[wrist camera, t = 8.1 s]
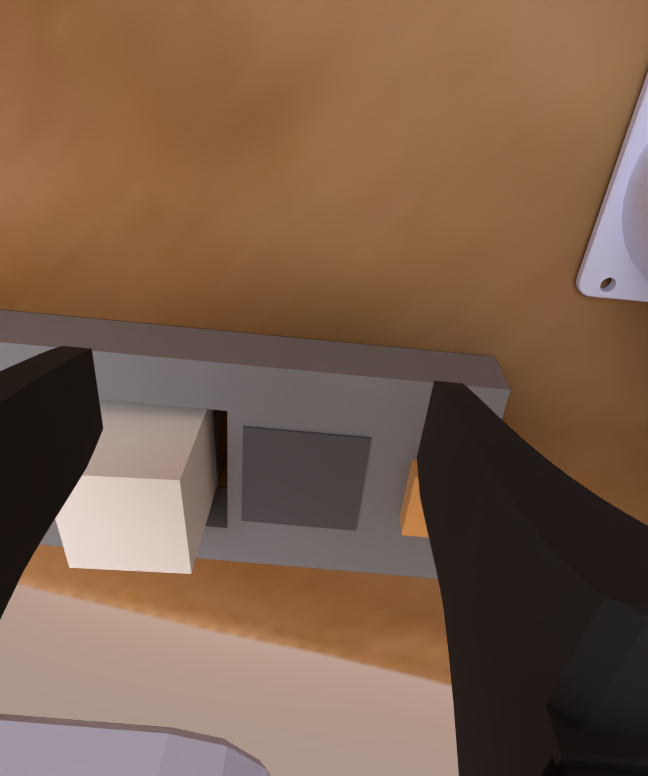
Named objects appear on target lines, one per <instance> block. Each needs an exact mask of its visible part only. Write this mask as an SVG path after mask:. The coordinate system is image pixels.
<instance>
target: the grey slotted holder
mask: <svg viewBox="0 0 648 776" xmlns="http://www.w3.org/2000/svg"><path fill="white" fill-rule="evenodd" d="M60 346H71V347H82V348H92V353H93V360H94V367H95V374H96V381H97V388H98V395H99V399H103V400H113V401H124V402H135V403H146V404H157V405H168V406H179V407H190V408H201V409H211V410H222V411H227V487H216V491H215V494H214V497H213V501H212V504H211V508H210V511H209V515H208V518H207V522H206V525H205V528H204V532H203V535H202V539H201V542H200V546H199V549H198V553H197V556H196V558H203V559H215V560H226V561H238V562H249V563H261V564H273V565H284V566H296V567H307V568H319V569H331V570H342V571H354V572H366V573H377V574H389V575H400V576H412V577H424V578H435V579H438V576H437V572H436V567H435V563H434V558H433V554H432V550H431V545H430V541H429V536H428V532H427V527H426V523H425V518H424V514H423V509H422V504H421V500H420V492H419V481H418V467H417V454H418V450H419V445H420V441H421V436H422V432H423V427H424V423H425V419H426V414H427V410H428V405H429V401H430V397H431V392H432V388H433V383H434V381H444V382H455V383H463V384H464V385H466V386H467V387H468V388H469V389H470V390H471V391H472V392H473V393H475V394H476V395H477V396H478V397H479V398H480V399H481V400H482V401H483V402H484V403H485V404H486V405H487V406H488V407H489V408H490V409H491V410H492V411H493V412H494V413H495V414H496V415H497V416H498V417H500V418H501V419H502V417H503V414H504V411H505V407H506V404H507V401H508V398H509V395H510V392H511V389H510V387H509V385H508V383H507V381H506V379H505V377H504V375H503V373H502V371H501V369H500V367H499V365H498V363H497V361H496V359H495V357H492V356H482V355H471V354H461V353H450V352H440V351H429V350H419V349H408V348H398V347H387V346H377V345H366V344H356V343H345V342H335V341H324V340H314V339H303V338H293V337H282V336H271V335H261V334H250V333H240V332H229V331H219V330H208V329H198V328H187V327H177V326H166V325H156V324H145V323H135V322H124V321H114V320H103V319H93V318H82V317H72V316H61V315H50V314H40V313H29V312H19V311H8V310H0V371H1V370H4V369H6V368H8V367H11V366H13V365H15V364H17V363H20V362H22V361H24V360H26V359H29V358H31V357H33V356H36V355H38V354H40V353H43V352H45V351H48V350H51V349H54V348H57V347H60ZM40 545H52V546H63V544H62V540H61V537H60V533H59V530H58V526H57V523H56V520H54V521H53V523H52V525H51V526H50V528H49V529H48V531H47V533H46V534H45V536H44V537H43V539H42V541H41V542H40Z"/></svg>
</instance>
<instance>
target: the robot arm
mask: <svg viewBox="0 0 648 776" xmlns="http://www.w3.org/2000/svg"><path fill="white" fill-rule="evenodd" d="M606 278H611V282H610V284H609V285H608V286H606V287H604V288H600V285H601V283H602V281H603V280H605V279H606ZM576 286H577V289H578V290H579V291H580V292H581V293H582V294H584V295H586V296H591V297H601V298H611V299H622V300H632V301H642V302H648V72H647V75H646V78H645V81H644V84H643V87H642V90H641V93H640V96H639V98H638V101H637V104H636V107H635V110H634V113H633V116H632V119H631V122H630V125H629V128H628V130H627V133H626V136H625V139H624V142H623V145H622V148H621V151H620V154H619V157H618V159H617V162H616V165H615V168H614V171H613V174H612V177H611V180H610V183H609V186H608V188H607V191H606V194H605V197H604V200H603V203H602V206H601V209H600V212H599V215H598V217H597V220H596V223H595V226H594V229H593V232H592V235H591V238H590V241H589V244H588V246H587V249H586V252H585V255H584V258H583V261H582V264H581V267H580V270H579V273H578V275H577V278H576ZM102 431H103V422H102V415H101V409H100V402H99V395H98V388H97V381H96V374H95V367H94V360H93V353H92V348H82V347H71V346H60V347H57V348H54V349H51V350H48V351H45V352H43V353H40V354H38V355H36V356H33V357H31V358H29V359H26V360H24V361H22V362H20V363H17V364H15V365H13V366H11V367H8V368H6V369H4V370H1V371H0V619H1V617H2V614H3V612H4V610H5V608H6V606H7V604H8V602H9V600H10V598H11V596H12V594H13V592H14V589H15V588H16V585H17V583H18V581H19V579H20V577H21V575H22V573H23V571H24V569H25V568H26V566H27V564H28V562H29V561H30V559H31V557H32V555H33V553H34V552H35V550H36V549H37V547H38V545H39V544H40V542H41V541H42V539H43V537H44V536H45V534H46V533H47V531H48V529H49V528H50V526H51V525H52V523H53V521H54V520H55V518H56V517H57V515H58V513H59V512H60V510H61V509H62V507H63V506H64V504H65V502H66V501H67V499H68V498H69V496H70V494H71V493H72V491H73V489H74V488H75V486H76V485H77V483H78V481H79V480H80V478H81V476H82V475H83V473H84V471H85V470H86V468H87V466H88V464H89V462H90V459H91V457H92V455H93V453H94V450H95V448H96V446H97V443H98V441H99V438H100V436H101V433H102ZM417 467H418V481H419V492H420V500H421V504H422V509H423V514H424V518H425V523H426V527H427V532H428V536H429V541H430V545H431V550H432V554H433V558H434V563H435V567H436V572H437V576H438V581H439V585H440V590H441V596H442V602H443V607H444V616H445V624H446V633H447V642H448V651H449V661H450V671H451V682H452V692H453V702H454V715H455V728H456V741H457V753H458V768H459V776H648V526H647V525H645V524H644V523H642V522H640V521H638V520H637V519H635V518H633V517H632V516H630V515H628V514H626V513H625V512H623V511H621V510H619V509H618V508H616V507H614V506H613V505H611V504H610V503H608V502H606V501H605V500H603V499H602V498H600V497H599V496H597V495H596V494H594V493H593V492H591V491H590V490H588V489H587V488H585V487H584V486H583V485H581V484H580V483H578V482H577V481H575V480H574V479H572V478H571V477H569V476H568V475H567V474H565V473H564V472H563V471H561V470H560V469H559V468H557V467H556V466H555V465H554V464H552V463H551V462H550V461H549V460H547V459H546V458H545V457H544V456H543V455H541V454H540V453H539V452H538V451H536V450H535V449H534V448H533V447H532V446H530V445H529V444H528V443H527V442H526V441H525V440H524V439H522V438H521V437H520V436H519V435H518V434H517V433H516V432H515V431H513V430H512V429H511V428H510V427H509V426H508V425H507V424H506V423H505V422H504V421H503V420H502V419H501V418H500V417H498V416H497V415H496V414H495V413H494V412H493V411H492V410H491V409H490V408H489V407H488V406H487V405H486V404H485V403H484V402H483V401H482V400H481V399H480V398H479V397H478V396H477V395H476V394H475V393H473V392H472V391H471V390H470V389H469V388H468V387H467V386H466V385H464V384H463V383H455V382H444V381H434V383H433V388H432V392H431V397H430V401H429V405H428V410H427V414H426V419H425V423H424V427H423V432H422V436H421V441H420V445H419V450H418V454H417ZM0 776H270V774H269V772H268V770H267V769H266V768H265V766H264V765H263V764H262V763H261V762H260V760H258V759H257V758H255V757H253V756H252V755H250V754H248V753H247V752H245V751H243V750H241V749H240V748H238V747H237V746H235V745H233V744H231V743H230V742H228V741H226V740H225V739H222V738H218V737H213V736H209V735H204V734H199V733H194V732H190V731H186V730H181V729H177V728H171V727H159V726H146V725H133V724H121V723H108V722H96V721H83V720H71V719H57V718H45V717H32V716H20V715H7V714H0Z"/></svg>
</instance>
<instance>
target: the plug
mask: <svg viewBox="0 0 648 776" xmlns="http://www.w3.org/2000/svg"><path fill="white" fill-rule="evenodd" d="M99 402H100V409H101V415H102V422H103V431H102V433H101V436H100V438H99V441H98V443H97V446H96V448H95V450H94V453H93V455H92V457H91V459H90V462H89V464H88V466H87V468H86V470H85V471H84V473H83V475H82V476H81V478H80V480H79V481H78V483H77V485H76V486H75V488H74V489H73V491H72V493H71V494H70V496H69V498H68V499H67V501H66V502H65V504H64V506H63V507H62V509H61V510H60V512H59V513H58V515H57V517H56V518H55V520H56V523H57V526H58V530H59V533H60V537H61V540H62V544H63V547H64V550H65V554H66V557H67V561H68V564H69V568H88V569H108V570H127V571H147V572H166V573H185V574H191V573H192V570H193V566H194V563H195V559H196V556H197V553H198V549H199V546H200V542H201V539H202V535H203V532H204V528H205V525H206V522H207V518H208V515H209V511H210V508H211V504H212V501H213V497H214V494H215V491H216V487H217V485H219V482H220V478H221V475H222V471H223V456H222V442H221V427H220V412H219V410H211V409H201V408H190V407H179V406H168V405H157V404H146V403H135V402H124V401H113V400H103V399H99Z"/></svg>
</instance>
